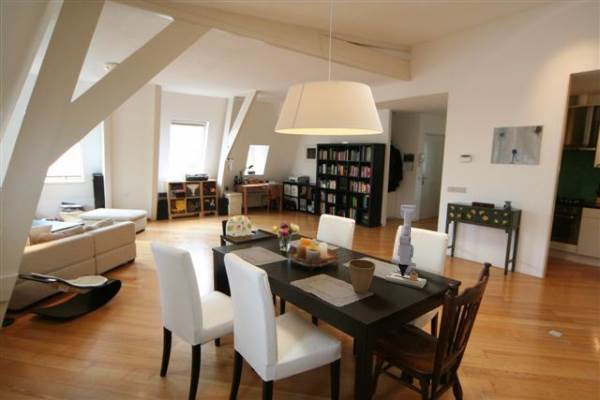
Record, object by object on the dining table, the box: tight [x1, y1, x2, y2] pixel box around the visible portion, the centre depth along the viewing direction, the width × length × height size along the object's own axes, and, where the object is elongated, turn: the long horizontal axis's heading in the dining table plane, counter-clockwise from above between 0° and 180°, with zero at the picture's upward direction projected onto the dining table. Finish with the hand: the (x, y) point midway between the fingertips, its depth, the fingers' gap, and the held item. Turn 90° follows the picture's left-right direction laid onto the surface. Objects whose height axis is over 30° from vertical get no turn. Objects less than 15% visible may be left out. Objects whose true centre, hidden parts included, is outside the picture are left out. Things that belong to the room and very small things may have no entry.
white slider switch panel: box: [385, 271, 427, 289], centre depth 202 cm, size 9×22×2 cm, turn 56°
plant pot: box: [348, 259, 376, 294], centre depth 186 cm, size 15×15×16 cm
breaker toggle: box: [409, 270, 419, 281], centre depth 199 cm, size 3×4×4 cm
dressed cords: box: [384, 271, 428, 290], centre depth 202 cm, size 16×21×1 cm
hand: (402, 275), depth 202 cm, fingers closed
